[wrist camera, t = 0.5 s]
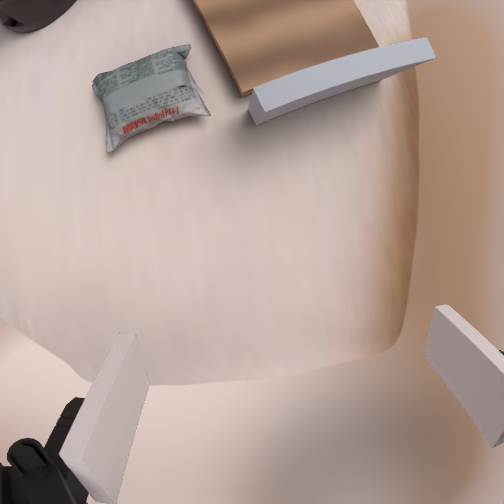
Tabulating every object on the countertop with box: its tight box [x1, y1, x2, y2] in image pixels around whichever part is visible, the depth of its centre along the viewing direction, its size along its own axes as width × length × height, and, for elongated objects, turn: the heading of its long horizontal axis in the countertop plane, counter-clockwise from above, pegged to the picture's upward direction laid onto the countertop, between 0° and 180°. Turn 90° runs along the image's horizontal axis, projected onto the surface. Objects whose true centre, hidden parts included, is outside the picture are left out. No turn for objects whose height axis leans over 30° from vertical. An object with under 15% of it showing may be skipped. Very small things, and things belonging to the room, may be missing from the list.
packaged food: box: [92, 45, 211, 152], centre depth 29 cm, size 9×12×5 cm
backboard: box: [248, 37, 436, 125], centre depth 26 cm, size 2×16×12 cm, turn 115°
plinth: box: [192, 0, 379, 97], centre depth 27 cm, size 18×16×3 cm
